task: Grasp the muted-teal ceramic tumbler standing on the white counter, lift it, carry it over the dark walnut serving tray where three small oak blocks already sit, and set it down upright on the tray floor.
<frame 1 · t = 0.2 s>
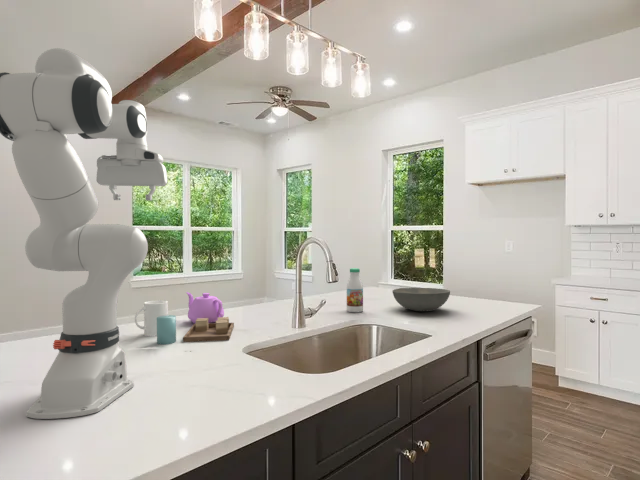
hand: (132, 200, 124), 47 cm above the worktop, fingers open, 8 cm apart
oak block c: (221, 332, 146), point 1 cm above the worktop, touching walnut tray
walnut tray: (210, 335, 144), on the worktop
mug: (151, 336, 144), on the worktop
milk bottle: (354, 311, 187), on the worktop
oak block a: (202, 330, 149), point 1 cm above the worktop, touching walnut tray
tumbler: (166, 343, 133), on the worktop
oak block b: (223, 328, 151), point 1 cm above the worktop, touching walnut tray
bowl: (420, 310, 188), on the worktop
teapot: (204, 324, 163), on the worktop
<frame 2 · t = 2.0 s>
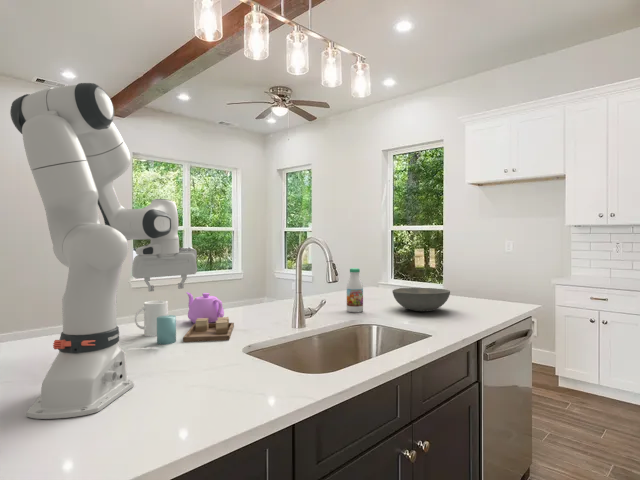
hand: (166, 289, 133), 18 cm above the worktop, fingers open, 8 cm apart
nothing on the worktop moved.
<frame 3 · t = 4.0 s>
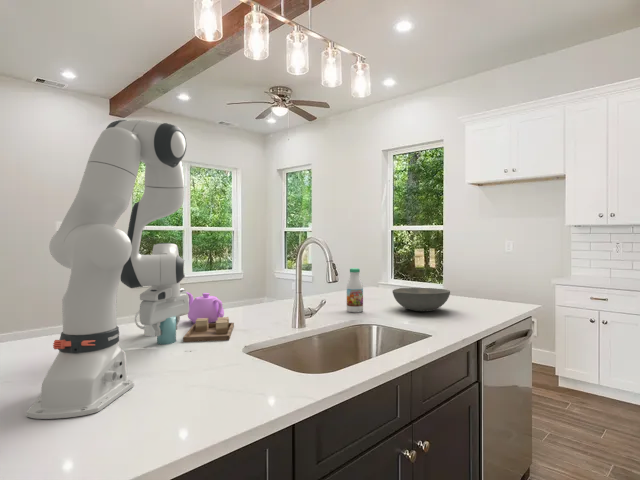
hand: (166, 332, 133), 4 cm above the worktop, fingers closed on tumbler, 6 cm apart
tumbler: (166, 343, 133), on the worktop, touching gripper
everything else where it was.
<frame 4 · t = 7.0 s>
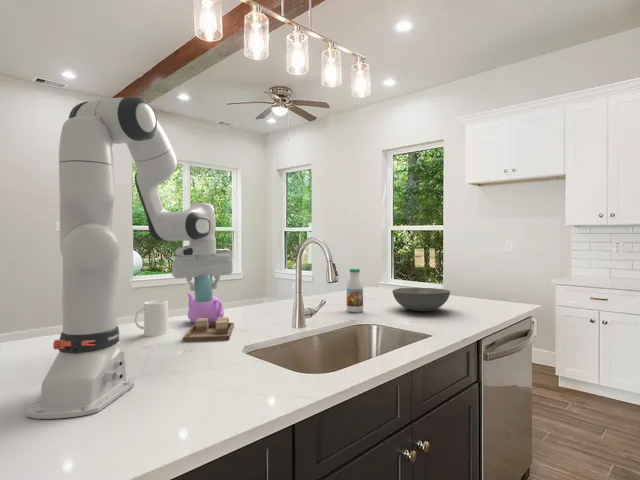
hand: (203, 289, 138), 17 cm above the worktop, fingers closed on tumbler, 6 cm apart
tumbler: (203, 300, 138), point 13 cm above the worktop, touching gripper
everything else where it was.
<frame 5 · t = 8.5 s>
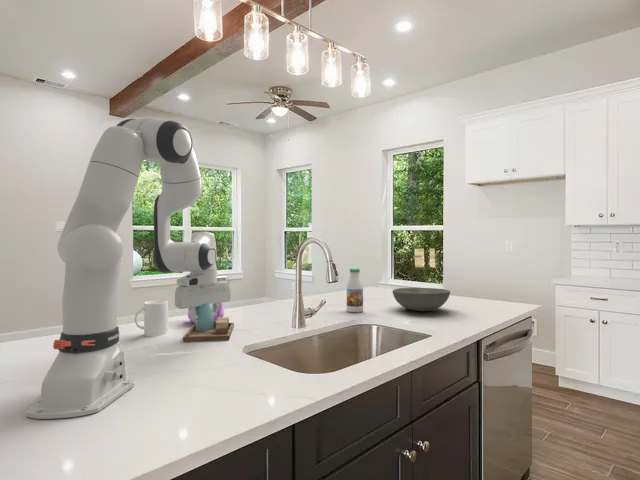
hand: (204, 318, 138), 7 cm above the worktop, fingers closed on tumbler, 6 cm apart
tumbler: (204, 329, 139), point 4 cm above the worktop, touching gripper
everything else where it was.
when the fingers open (6 cm above the worktop, at t = 9.8 s): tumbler drops 1 cm, resting on walnut tray.
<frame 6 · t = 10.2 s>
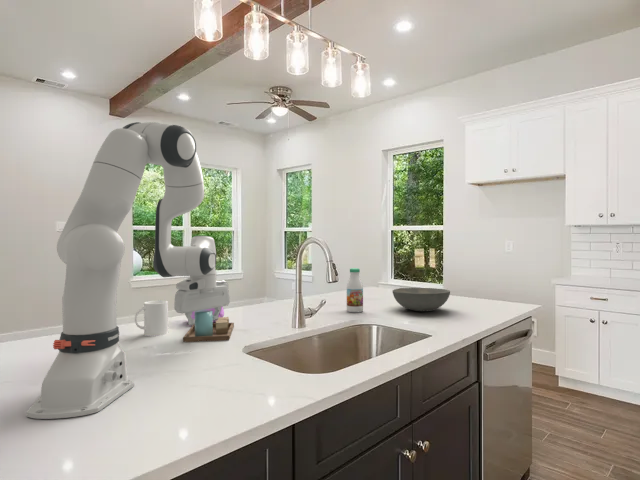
hand: (203, 322, 138), 6 cm above the worktop, fingers open, 8 cm apart
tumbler: (203, 337, 138), point 1 cm above the worktop, touching walnut tray
everything else where it was.
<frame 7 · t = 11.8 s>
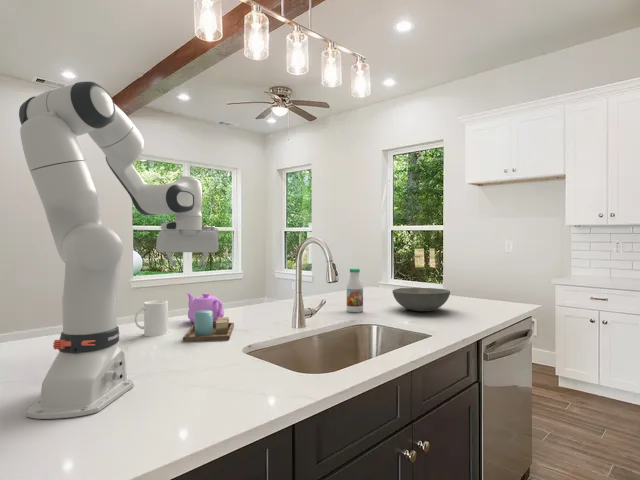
hand: (187, 265, 136), 26 cm above the worktop, fingers open, 8 cm apart
nothing on the worktop moved.
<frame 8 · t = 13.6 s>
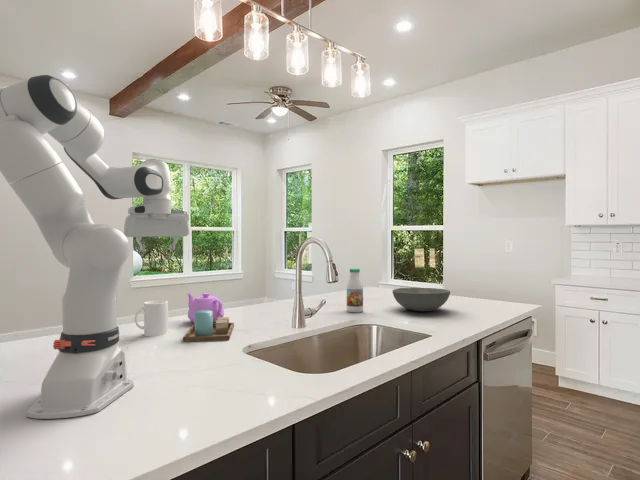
hand: (157, 250, 134), 31 cm above the worktop, fingers open, 8 cm apart
nothing on the worktop moved.
at the end: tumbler inside the target area on the walnut tray (5.3 cm from its centre), point 0.6 cm above the walnut tray's base; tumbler tilted 0°; the gripper is holding nothing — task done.
